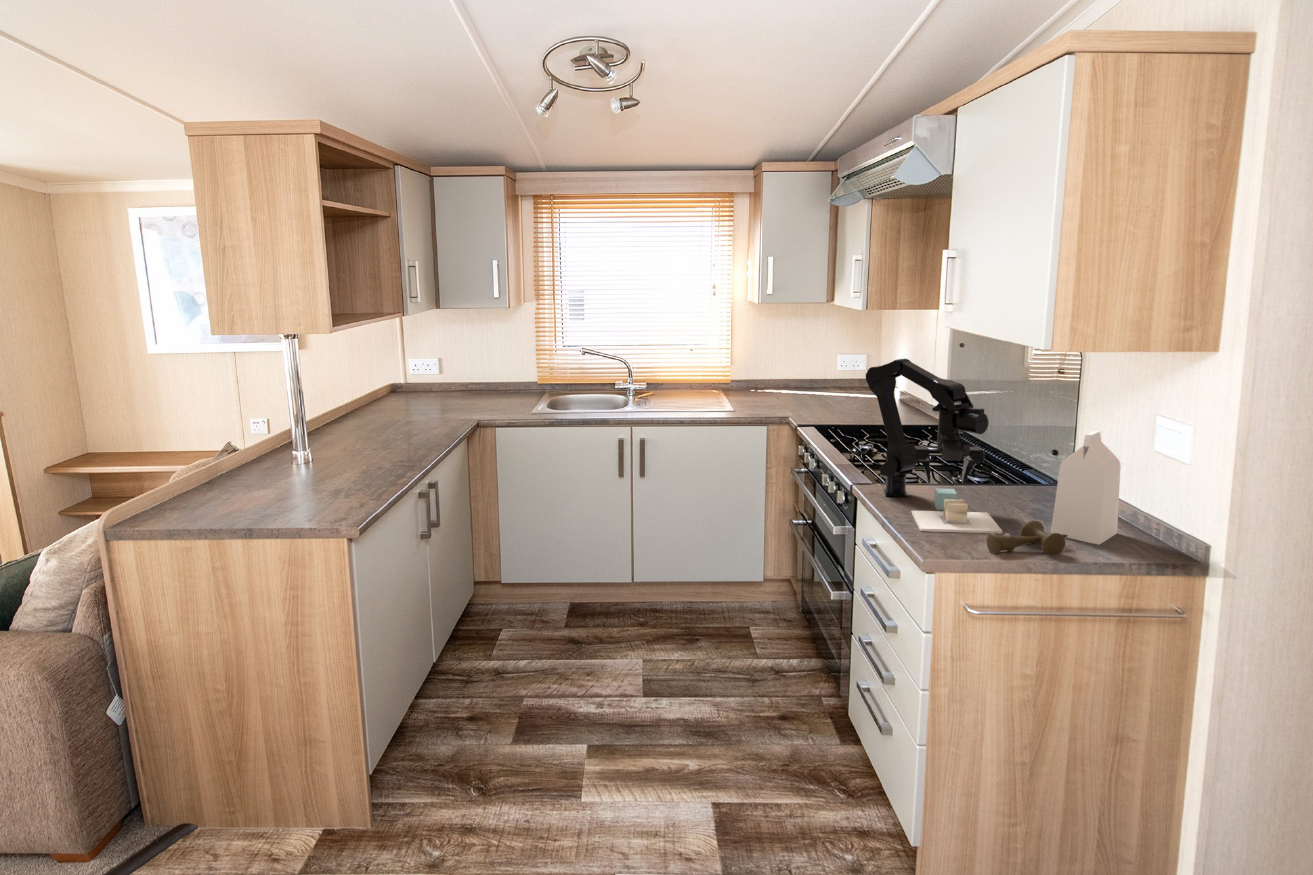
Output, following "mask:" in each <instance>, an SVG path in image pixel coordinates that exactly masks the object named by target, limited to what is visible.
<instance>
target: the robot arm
mask: <svg viewBox="0 0 1313 875" xmlns="http://www.w3.org/2000/svg"><path fill="white" fill-rule="evenodd" d="M901 376H903V377H904V378H905V379H907V380H909V381H911V383H914V384H916V385H917V386H919V387H921V388H923V389H924V390H925V391H927V392H928V393H929V394H930V396H931V397H932V399H934V400H935V402H937V404H936V405H935V406H934V407H932V409H931V410H932V411H933V412H938V422H937V423H938V424H937V442H936V443H937V444H936V449H931V448H930V449H929V448H928V446H927V445H915V443H911V444H910V443H909V442H908V441H907V439H906V437H905V432H904V428H903V425H902V421H901V417H900V412H899V408H898V406H897V402H896V397H895V389H896V385H897V379H896V378H899V377H901ZM865 381H866V383H867V386H868V387H869V389H870V391H871V392H872V393H873V394H874V396H875V397H876V399H877V402H878V406H879V410H880V415H881V419H882V422H883V426H884V430H885V435H886V437H887V438H886V439H887V443H888V444H887V449H886V453H885V454H886V461H884V463H883V464H882V465H881V466H880V467H879V473H880V475H881V476H883V477H884V476H885V489H883V491H882V492H883V494H884V495H885V497H895V498H896V497H897V498H898V497H899V498H901V497H902V498H908V497H909V494H908V491H907V489H906V487H907V482H906V481H907V475H909V474H910V475H911V474H912V473H913V470H914V468H915V467H916V466H917V464H918V463H921V465H922V468H923V470H924V473H925V476H926V480H927V482H928V484H930V483H931V468H930V465H931V460H930V459H929V457H942V459H943V460H945V461H957V462H959V461H962V458H964V459H963V466H962V474H961V483H962V484H963V485H964V484H965V483H966V481H967V478H968V476H969V474H970V472H971V470H972V469H973V467H974V466H975V465H976V464H980V462H983V461H985V460H986V452H985V451H984V450H983V449H982V448H981V447H980V446H971V443H970V441H961V432H964V433H965V432H966V433H971V434H977V435H983V434H984V433H985V432H986V431H987V430H988V427H989V418H988V416H987V414H986V413H985V408H981V407H979V408H975V407H974V404H973V403H972V401H971V399H970V397H969V396H968V393H967V391H966V387H965V385H963V384H962V383H961V382H956V381H954V380H950V379H946V378H942V377H938V376H937V375H935V374H934V373H931V372H930V371H928V370H926V369H924V368H923V367H921V366H919V365H918V364H916V363H913V362H912V361H911V360H910V359H908V358H899V359H895V360H894V359H893V361H890V362H888V363H885V364H882V365H878V366H871V367H869V368H868V369H867V371H866V373H865Z"/></svg>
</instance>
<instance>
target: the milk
mask: <svg viewBox="0 0 1313 875" xmlns="http://www.w3.org/2000/svg"><path fill="white" fill-rule="evenodd" d="M1101 434H1102V433H1101V431H1099V430H1093V431H1091V432H1088V433H1085V435H1084V439H1083V440H1084V441H1083V444H1082V445H1083V446H1081V447H1079V448H1078V449H1077V450H1075V451H1074V452H1073V453H1071V454H1070V455H1069V456H1067V457H1065V458H1064V459H1063V460H1062V461H1061V463H1060V465H1059V473H1058V478H1057V483H1056V484H1057V485H1056V493H1055V500H1054V507H1053V512H1052V520H1051V527H1050V533H1059V534H1061V535H1063V534H1064V535H1067V537H1065V538H1067V539H1072V540H1075V539H1076V541H1080V542H1085V543H1090V544H1094V545H1101V544H1103V543H1104V542H1106V541H1107V540H1109V539H1111V538H1112V537H1114V536H1115V535H1117V534H1118V522H1119V505H1120V504H1119V502H1120V487H1121V486H1120V484H1121V466H1122V465H1121V462H1120V459H1119V458H1118V457H1117V456H1116V455H1115V454H1114V452H1112V450H1110V449H1109V448H1108V446H1106V445H1105V444H1104V442H1102V436H1101Z"/></svg>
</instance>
